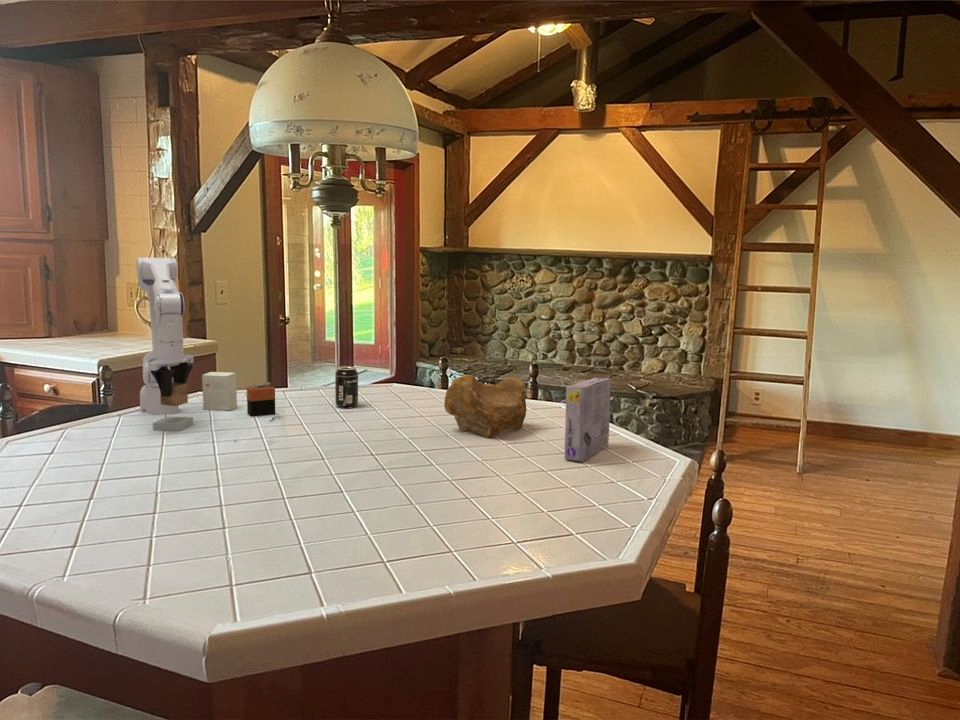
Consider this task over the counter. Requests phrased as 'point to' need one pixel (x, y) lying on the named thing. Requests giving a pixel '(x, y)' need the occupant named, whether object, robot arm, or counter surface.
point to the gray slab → (173, 423)
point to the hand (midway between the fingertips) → (172, 394)
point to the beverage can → (346, 387)
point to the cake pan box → (587, 418)
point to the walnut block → (176, 395)
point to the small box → (219, 390)
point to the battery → (261, 400)
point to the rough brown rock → (487, 405)
